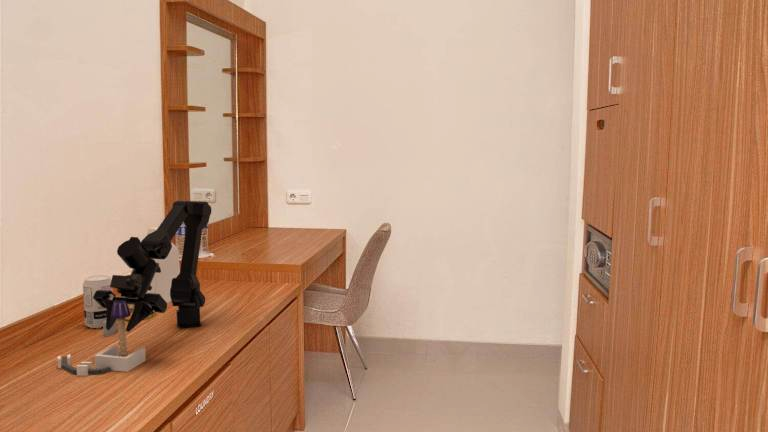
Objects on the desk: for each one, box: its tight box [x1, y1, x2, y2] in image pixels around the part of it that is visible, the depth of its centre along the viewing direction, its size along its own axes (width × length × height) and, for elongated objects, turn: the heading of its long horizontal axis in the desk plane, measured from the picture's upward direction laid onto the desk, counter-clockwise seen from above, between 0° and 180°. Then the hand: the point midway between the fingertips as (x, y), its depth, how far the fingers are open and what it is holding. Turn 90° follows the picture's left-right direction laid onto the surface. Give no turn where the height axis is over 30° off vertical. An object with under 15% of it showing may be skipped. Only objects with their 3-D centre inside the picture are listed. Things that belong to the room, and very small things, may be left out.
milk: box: [146, 227, 181, 304], centre depth 215 cm, size 12×12×26 cm
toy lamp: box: [111, 300, 132, 357], centre depth 155 cm, size 5×5×17 cm
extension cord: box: [125, 304, 158, 322], centre depth 199 cm, size 12×16×2 cm
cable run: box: [61, 355, 112, 375], centre depth 152 cm, size 6×17×1 cm, turn 64°
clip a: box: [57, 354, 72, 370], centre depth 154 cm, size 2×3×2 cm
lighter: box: [102, 317, 117, 337], centre depth 180 cm, size 7×2×8 cm, turn 171°
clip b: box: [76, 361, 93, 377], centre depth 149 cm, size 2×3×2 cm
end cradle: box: [94, 344, 147, 373], centre depth 155 cm, size 8×9×4 cm
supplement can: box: [82, 275, 114, 329], centre depth 186 cm, size 8×8×15 cm
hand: (117, 330), depth 153 cm, fingers open, 5 cm apart
